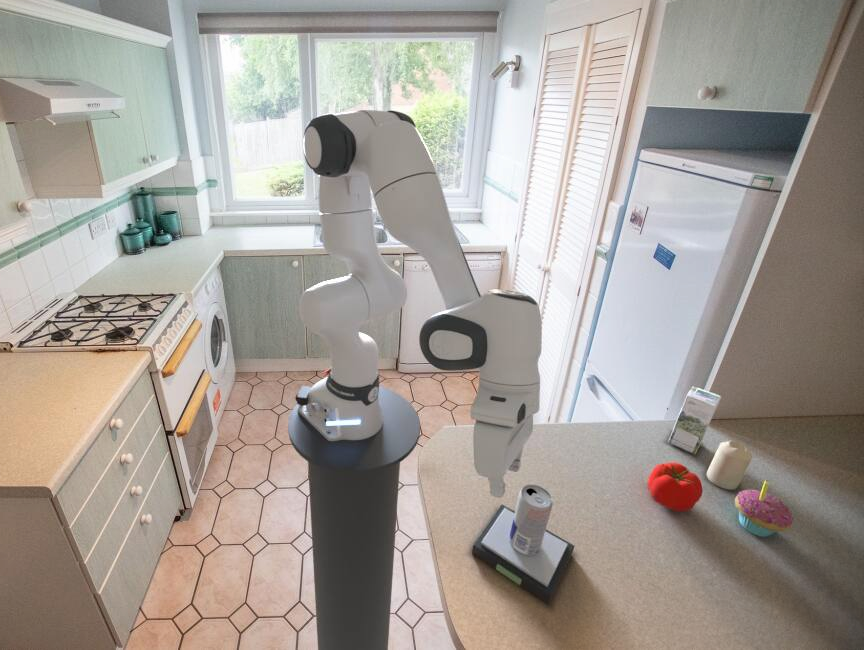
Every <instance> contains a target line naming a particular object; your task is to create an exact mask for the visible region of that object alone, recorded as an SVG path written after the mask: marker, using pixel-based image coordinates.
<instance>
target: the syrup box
mask: <svg viewBox="0 0 864 650" xmlns="http://www.w3.org/2000/svg"><path fill="white" fill-rule="evenodd" d="M721 399H722V396H721V395H719V394H717V393H713V392H711V391H709V390H705V389H702V388H700V387H697V386H694V385H692V387H691V388H690V390H689V391H688V393H687V394H686V397H685V399H684V402H683V404H682V406H681V408H680V412H679V414H678V416H677V419H676V422H675V424H674V426H673V428H672V432H671V434H670V436H669V439H668V441H667V443H668V444H669V445H672V446H675V447H677V448H678V449H681V450H683V451H685V452H687V453H690V454H692V455H696V454H697V452H698V450H699V448H700V446H701V444H702V442H703V440H704V437H705V435H706V433H707V430H708V428H709V425H710V423H711V421H712V419H713V417H714V415H715V413H716V411H717V409H718V406H719V404H720V401H721Z"/></svg>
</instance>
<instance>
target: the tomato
mask: <svg viewBox="0 0 864 650" xmlns="http://www.w3.org/2000/svg"><path fill="white" fill-rule="evenodd" d="M690 471H691V470H690V469H688V468H687V467H686V466H685V465H683V464H682V463H678V462H666V463H660V464H657V465H656V466H655V467H653V469H652V470H651V472H650V474H649V476H648V480H647V489H648V490H649V491H650V496H651V497H652V498H653V500H654V501H655V502H657V503H658V504H659V505H661V506H663V507H665V508H668V509H671V510H672V511H676V512H687V511H690V510H692V509H693V508H694V507H695V505H696V503H697V502H699V500H700V499H701V498H702V495H703V485H702V481H701V479H700V478H699V477H698V476H697V474H696V473H694V472H690Z"/></svg>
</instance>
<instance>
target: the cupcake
mask: <svg viewBox="0 0 864 650" xmlns="http://www.w3.org/2000/svg"><path fill="white" fill-rule="evenodd" d="M769 484H770V482H769V481H768V478H766V479H765V481H764V482H763V486H762V488H761V490H756V489H750V488H749V489H743V490H740V491H739V492H738V493H737V495H736V496H735V498H734V505H735V508H736V510H738V522H739V524H740V525H741V527H743V528H744V529H745V530H746V531H747V532H750V533H751V534H753V535H755V536H758V537H768V536H770V535H772V534H774V533H776V532H781V533H784V532H786V531H788V530H790V529H792V527H793V523H794V519H795V517H793V513H792V510H790V508H789V506H787V505H786V504H785V503H784V502H783V501H782V500H781V499H780V498H777V497H776V496H775V495H773V494H770V493H767V491H768V488H769Z"/></svg>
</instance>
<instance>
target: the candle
mask: <svg viewBox="0 0 864 650" xmlns="http://www.w3.org/2000/svg"><path fill="white" fill-rule="evenodd" d="M753 457H754V455H753V453H752V452H751V451H750V449H749V448H748V447H747V446H746V445H745V444H744V443H743V442H741V441H739V440H734V439H733V440H725V441H722V442H720V443H719V445H718V447H717V449H716V452H715V454H714V456H713V458H712V460H711V463H710V464H709V467H708V468H707V471H706V477H707V479H708V480H709V481H710V482H711V483H712V484H714V485H715V486H717V487H719V488H722V489H724V490H728V491H729V490H730V491H731V490H736V489H737V488H738V487H739V485H740V483H741V481H742V479H743V477H744V475H745V473H746V472H747V469H748V467H749V465H750V463H751V462H752V459H753Z"/></svg>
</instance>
